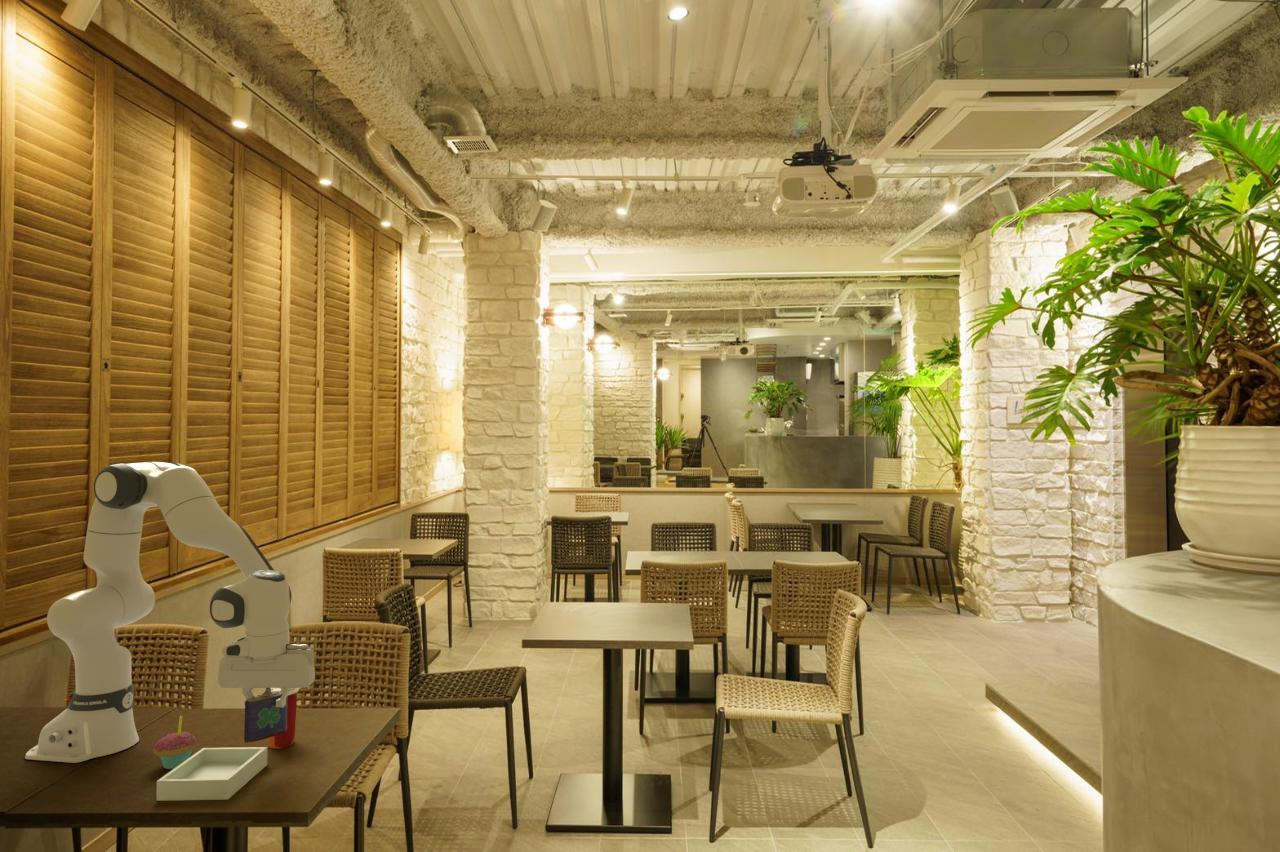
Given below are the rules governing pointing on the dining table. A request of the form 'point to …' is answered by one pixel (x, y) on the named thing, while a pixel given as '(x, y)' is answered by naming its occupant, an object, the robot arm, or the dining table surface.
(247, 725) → the flask
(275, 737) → the paper cup
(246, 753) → the serving bin
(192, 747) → the cupcake
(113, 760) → the dining table surface
